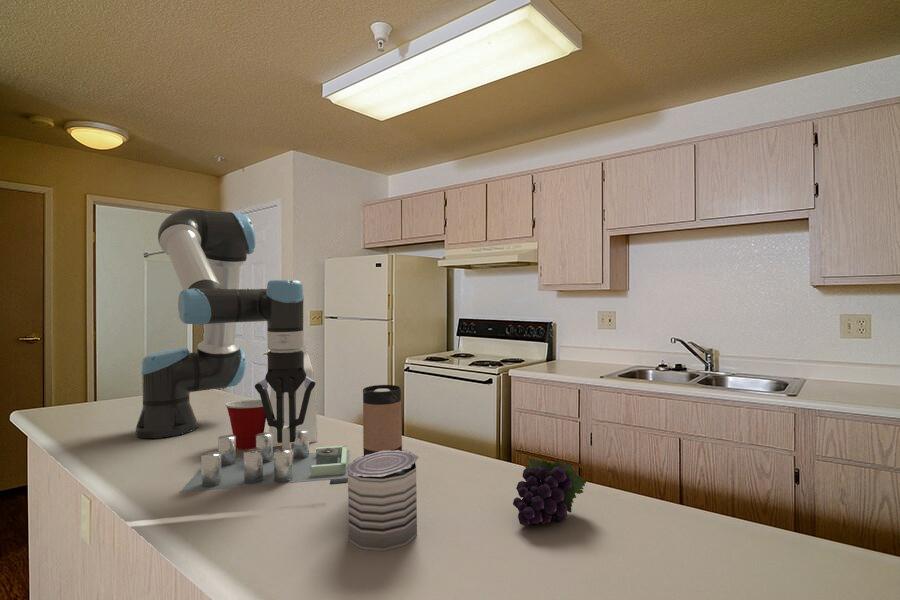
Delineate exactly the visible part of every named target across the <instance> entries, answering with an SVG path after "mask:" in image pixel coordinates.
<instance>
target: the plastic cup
mask: <svg viewBox="0 0 900 600" xmlns="http://www.w3.org/2000/svg"><path fill="white" fill-rule="evenodd" d="M224 405H225V407H226V409H227V413H228V417H229V421H230V422H229V423H230V427H231V433H232V435H235V436H236V450H244V451H246V450H249V449H256V435H257V434H259V433H265V427H266V422H267V419H266V415H265V412H264V408H263V404H262V401H261V399H243V400H241V399H240V400H235V401H229V402H225V404H224Z"/></svg>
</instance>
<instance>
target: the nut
mask: <svg viewBox="0 0 900 600" xmlns="http://www.w3.org/2000/svg"><path fill="white" fill-rule="evenodd" d="M315 453H316V452H315ZM335 463H338V449H335V448H325V449H321V450H317V453H316V465H322V464H335Z"/></svg>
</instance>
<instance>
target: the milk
mask: <svg viewBox="0 0 900 600" xmlns="http://www.w3.org/2000/svg"><path fill="white" fill-rule="evenodd" d="M305 346H306V345H304V347H303V348H302V349H301V350H302V351H303V352H304V371H305V373H306V376H307V377H308V378H310V379H312V380H315V374H314V369H313V365H312V362H311V358H310V355H309V353H308V350H307V348H306V347H305ZM304 385H305V382H304V381H303V383H302V384H301V385H300V387H299V388H298V389H297V391H296V419H298V418H299V414H300V410H301V406H302V402H303V398H304V394H305V391H306V388H305V387H304ZM315 386H316V385H315ZM315 386H314V388H313V389H312V391H311V394H310V399H309V403H308V407H307V411H306V415H305V419H304V422H303V424H302V425H298V426H296V430H298V429H308V430H309V443H315V442H319V440H318V439H319V438H318V421H317V420H318V419H317V405H316V387H315ZM269 398H270V402H271V405H272V409H273V413H274V416H275V419H276V420H277V409H276V392H275V391H274V390H273V388H272V387H271V386H270V395H269ZM284 426H289V397H288V393H287V392H285V393H284ZM268 429H269V430H268V432H270V433H273V447H280V446H281V447H282V443H278V442H277V429H276V427H273V426H271V427H270V426H269V428H268ZM291 445H293V442H291Z"/></svg>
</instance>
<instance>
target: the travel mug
mask: <svg viewBox="0 0 900 600" xmlns="http://www.w3.org/2000/svg"><path fill="white" fill-rule="evenodd" d="M362 416H363V417H362V418H363V419H362V421H363V422H362V426H363V427H362V429H363V430H362V433H363V434H362V436H363V437H362V439H363V440H362V443H363V445H362V446H363V447H362V449H363V456H365V455H369V454H372V453H376V452H379V451H395V450H403V432H402V429H403V428H402V425H403V424H402V423H403V422H402V388H401V387H400V386H398V385H394V384H378V385H377V384H376V385H375V384H374V385H369V386H366V387H364V388H363V389H362Z"/></svg>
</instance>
